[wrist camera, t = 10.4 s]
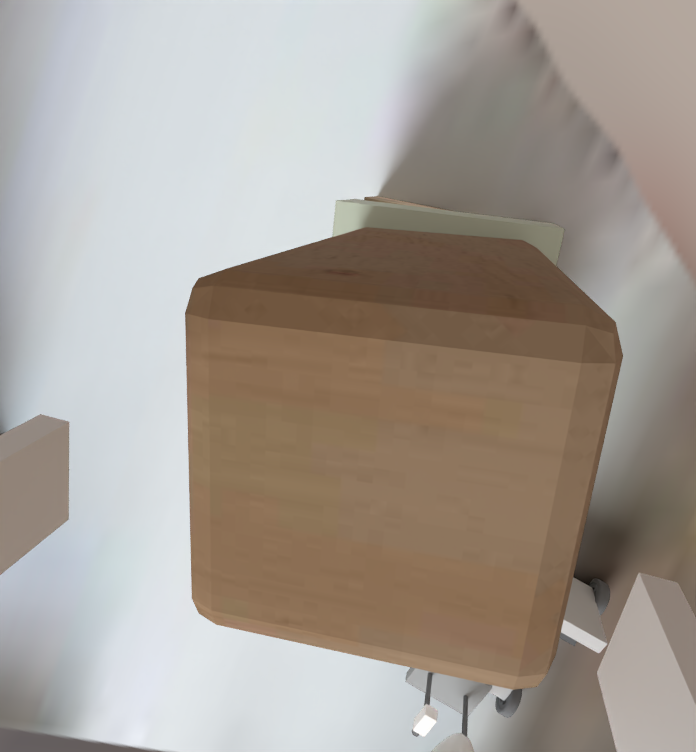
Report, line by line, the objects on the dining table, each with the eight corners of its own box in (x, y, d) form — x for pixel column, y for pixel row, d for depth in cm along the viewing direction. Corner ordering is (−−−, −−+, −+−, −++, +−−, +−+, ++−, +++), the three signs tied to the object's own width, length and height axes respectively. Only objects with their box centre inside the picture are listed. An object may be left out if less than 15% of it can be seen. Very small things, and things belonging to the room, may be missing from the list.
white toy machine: (488, 825, 43) (352, 746, 44) (487, 714, 52) (375, 650, 53) (637, 672, 36) (474, 581, 37) (606, 575, 46) (476, 503, 46)
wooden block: (351, 224, 31) (165, 269, 13) (541, 240, 30) (646, 319, 11) (339, 396, 35) (177, 632, 16) (511, 419, 33) (553, 717, 14)
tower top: (335, 379, 40) (316, 404, 35) (355, 199, 36) (336, 200, 31) (512, 410, 38) (516, 441, 33) (553, 223, 34) (564, 228, 29)
